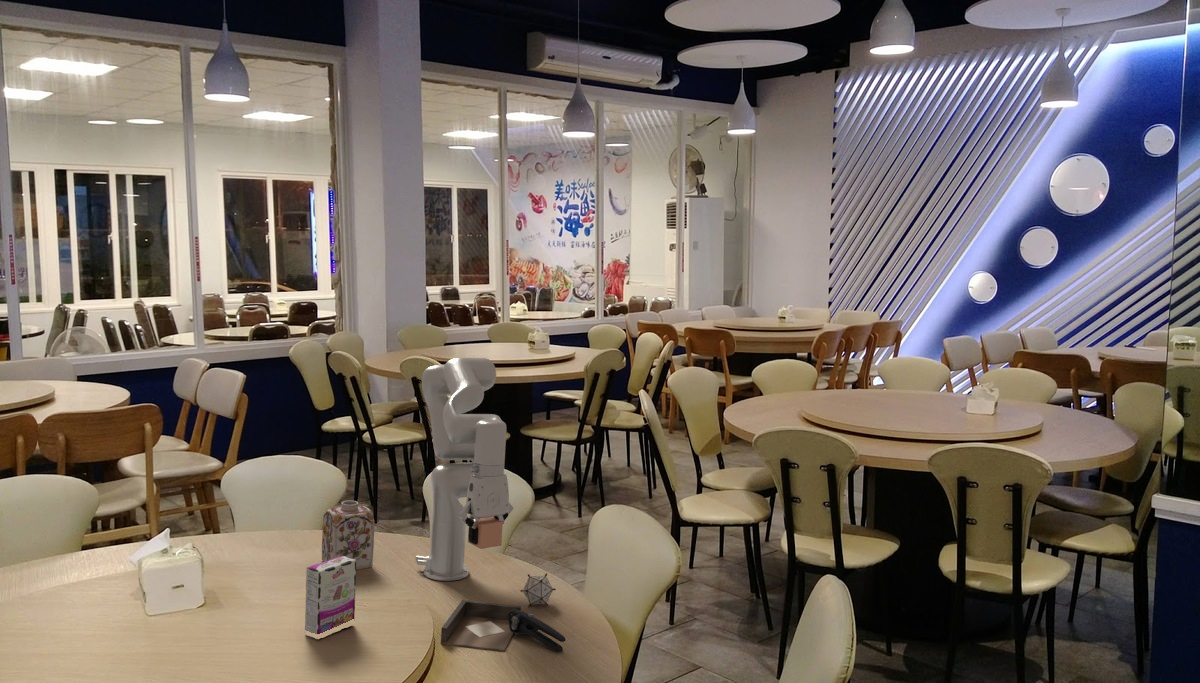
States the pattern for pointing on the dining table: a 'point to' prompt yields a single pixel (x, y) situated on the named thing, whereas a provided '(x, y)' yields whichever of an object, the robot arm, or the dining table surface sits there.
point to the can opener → (534, 628)
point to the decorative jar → (349, 533)
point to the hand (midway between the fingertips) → (484, 540)
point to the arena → (478, 626)
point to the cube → (489, 533)
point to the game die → (537, 590)
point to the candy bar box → (330, 594)
